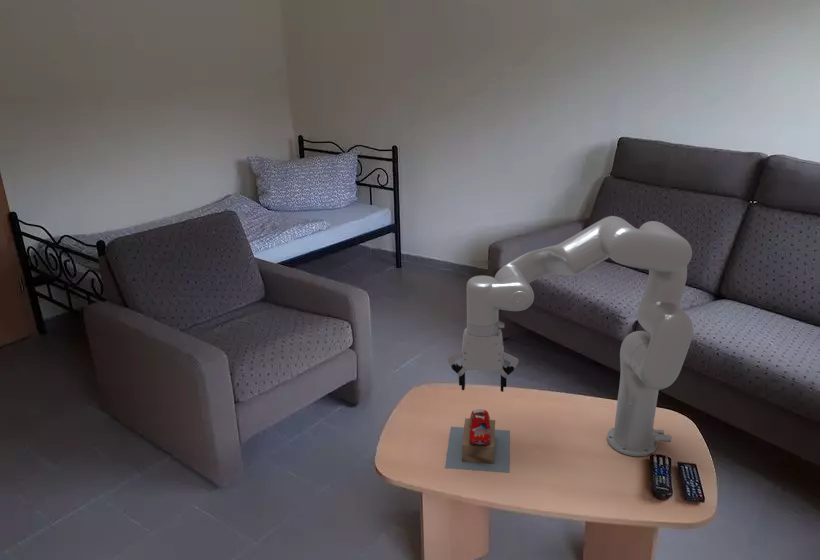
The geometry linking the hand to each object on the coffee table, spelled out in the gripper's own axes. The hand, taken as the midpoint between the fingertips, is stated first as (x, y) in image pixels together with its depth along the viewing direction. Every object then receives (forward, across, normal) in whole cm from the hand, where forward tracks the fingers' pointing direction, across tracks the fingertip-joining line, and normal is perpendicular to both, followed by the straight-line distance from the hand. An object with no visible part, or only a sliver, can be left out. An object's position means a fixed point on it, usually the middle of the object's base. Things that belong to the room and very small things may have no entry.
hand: (482, 388), depth 167 cm
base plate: (+19, +1, 0) cm, 19 cm away
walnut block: (+18, +1, 0) cm, 18 cm away
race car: (+13, +1, 0) cm, 13 cm away
